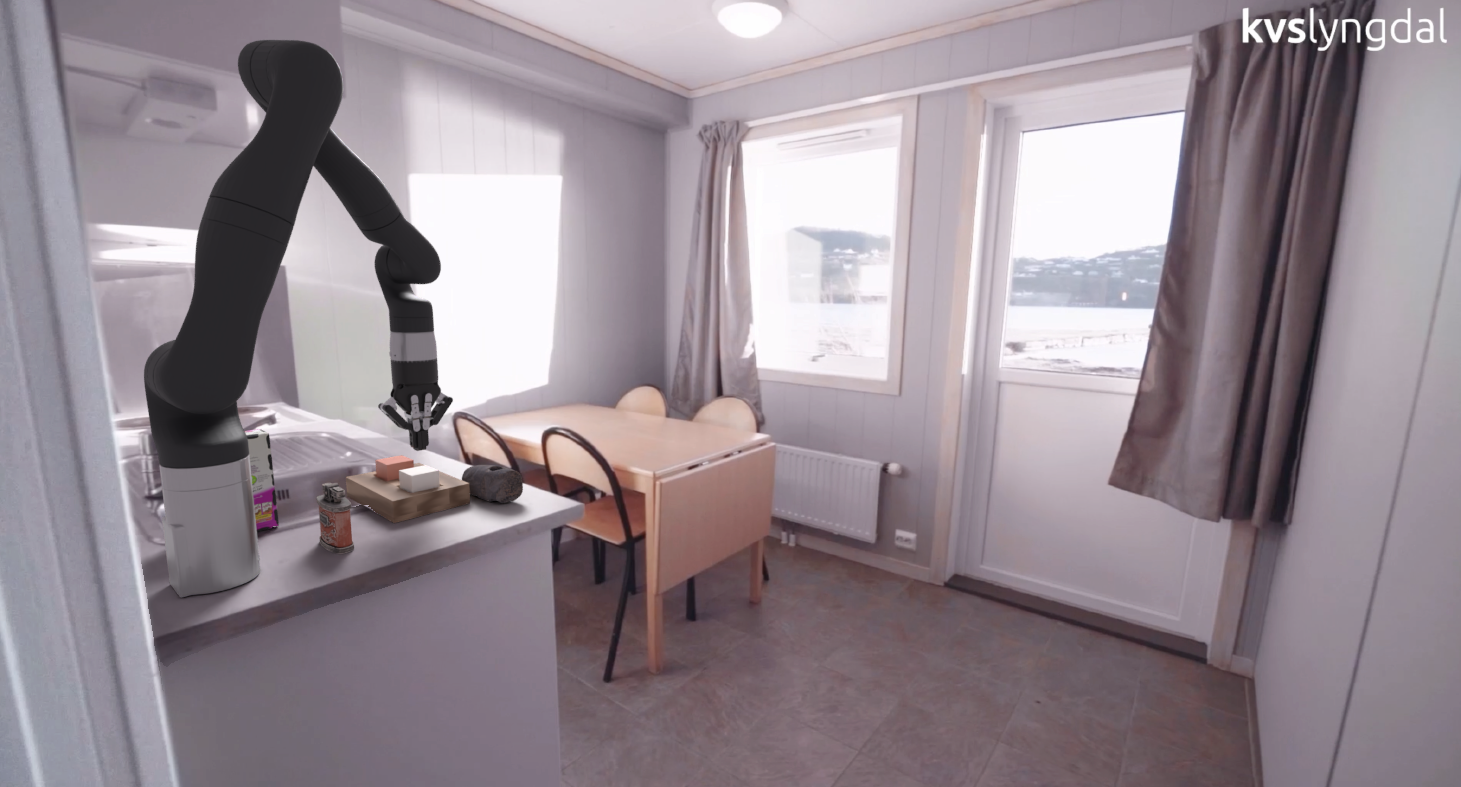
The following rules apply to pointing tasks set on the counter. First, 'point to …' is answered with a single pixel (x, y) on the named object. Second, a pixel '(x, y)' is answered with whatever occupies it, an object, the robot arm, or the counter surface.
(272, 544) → the counter surface
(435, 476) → the key white
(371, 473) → the frame
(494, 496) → the perforated stone tool
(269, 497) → the candy bar box
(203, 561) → the robot arm
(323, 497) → the lighter
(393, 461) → the salmon pink block
